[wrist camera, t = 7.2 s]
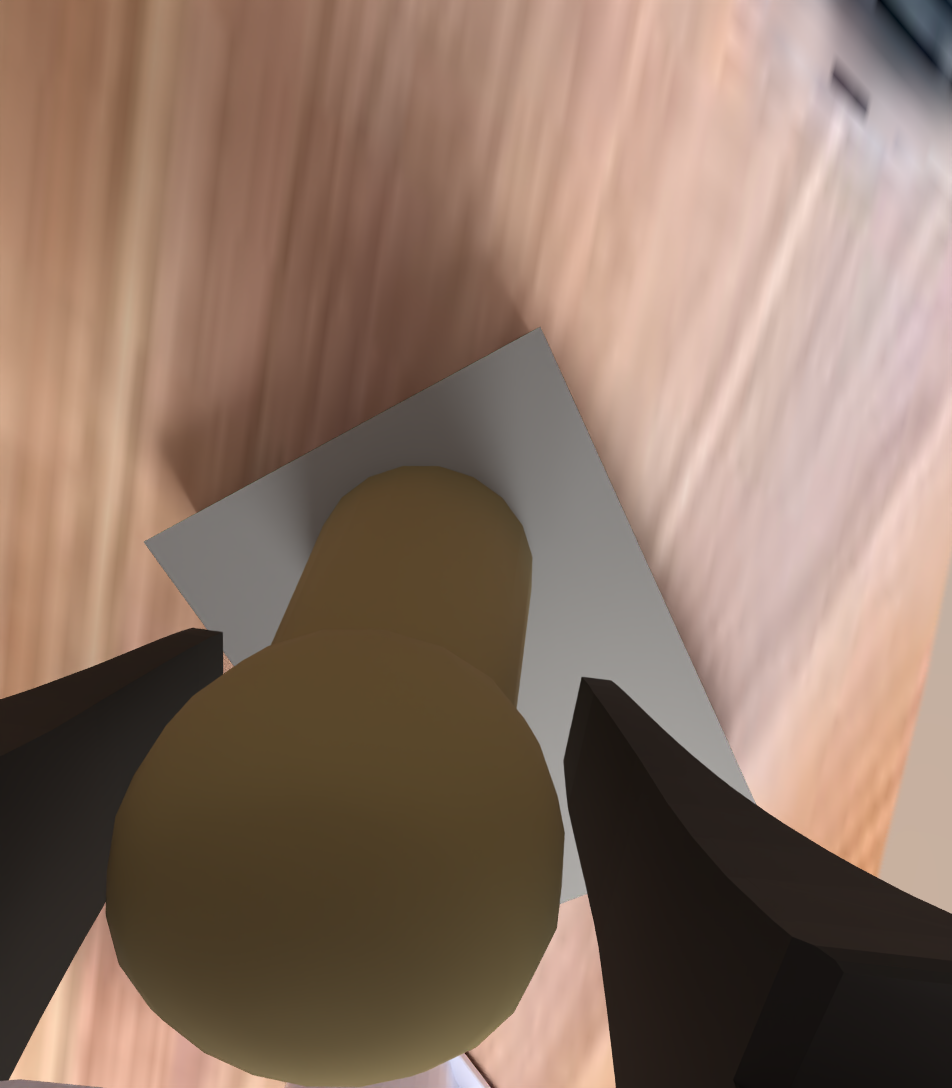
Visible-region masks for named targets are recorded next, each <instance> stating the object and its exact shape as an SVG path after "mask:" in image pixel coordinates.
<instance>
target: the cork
mask: <svg viewBox="0 0 952 1088" xmlns="http://www.w3.org/2000/svg"><path fill="white" fill-rule="evenodd" d="M532 558H533V557H532V554H531V551H530V547H529V544H528V541H527V538H526V535H525V532H524V528H523V525H522V524H521V523H520V521H519V520H518V519H517V517H516V516H515V514H514V513H513V512H512V510H511V509H510V508H509V506H508V505H507V504H506V502H505V501H504V499H503V498H502V497H501V496H499V495H498V494H496V493H495V492H494V491H492V490H491V489H489V488H488V487H487V486H485V485H484V484H482V483H481V482H480V481H478V480H477V479H475V478H474V477H472V476H468V475H465V474H462V473H459V472H456V471H453V470H450V469H447V468H444V467H440V466H401V467H398V468H395V469H392V470H389V471H386V472H383V473H380V474H377V475H374V476H371V477H368V478H367V479H366V480H364V481H363V482H362V483H360V484H359V485H358V486H356V487H355V488H354V489H352V490H351V491H350V492H348V493H347V494H346V495H344V496H343V497H342V498H341V499H340V501H339V502H338V504H337V505H336V507H335V508H334V510H333V511H332V513H331V514H330V516H329V517H328V519H327V520H326V522H325V523H324V525H323V527H322V529H321V531H320V534H319V536H318V538H317V541H316V543H315V545H314V547H313V550H312V552H311V554H310V557H309V559H308V561H307V563H306V566H305V568H304V570H303V573H302V575H301V577H300V579H299V582H298V584H297V586H296V589H295V591H294V593H293V595H292V598H291V600H290V602H289V605H288V607H287V609H286V611H285V614H284V616H283V618H282V621H281V623H280V625H279V627H278V630H277V632H276V634H275V637H274V639H273V641H272V643H271V645H270V646H267V647H266V648H264V649H262V650H260V651H258V652H257V653H255V654H253V655H251V656H250V657H248V658H246V659H244V660H242V661H241V662H240V663H238V664H237V665H235V666H234V667H233V668H231V669H230V670H228V671H227V672H226V673H224V674H223V675H221V676H220V677H219V678H217V679H216V680H214V681H213V682H212V683H210V684H209V685H207V686H206V687H205V688H203V689H202V690H200V691H199V692H197V693H196V694H195V695H193V696H192V697H191V698H190V700H189V701H188V702H187V703H186V704H185V705H184V706H183V707H182V708H181V710H180V711H179V712H178V713H177V714H176V715H175V716H174V717H173V718H172V720H171V721H170V722H169V723H168V724H167V725H166V726H165V728H164V729H163V731H162V733H161V734H160V736H159V737H158V739H157V740H156V742H155V743H154V745H153V746H152V748H151V749H150V751H149V753H148V754H147V756H146V757H145V759H144V760H143V762H142V763H141V765H140V766H139V768H138V769H137V771H136V773H135V774H134V776H133V778H132V780H131V783H130V785H129V787H128V789H127V792H126V794H125V796H124V798H123V801H122V803H121V805H120V807H119V810H118V812H117V814H116V816H115V823H114V829H113V835H112V842H111V848H110V854H109V861H108V867H107V884H106V918H107V922H108V926H109V929H110V933H111V937H112V940H113V944H114V948H115V952H116V955H117V959H118V963H119V965H120V967H121V968H122V969H123V971H124V972H125V974H126V975H127V976H128V978H129V979H130V981H131V982H132V983H133V985H134V986H135V988H136V989H137V990H138V992H139V993H140V995H141V996H142V997H143V999H144V1000H145V1002H146V1003H147V1005H148V1006H149V1007H150V1009H151V1010H152V1011H154V1012H155V1013H156V1014H157V1015H158V1016H159V1017H160V1018H161V1019H162V1020H163V1021H164V1022H166V1023H167V1024H168V1025H170V1026H171V1027H172V1028H173V1029H175V1030H176V1031H177V1032H178V1033H180V1034H181V1035H182V1036H184V1037H185V1038H186V1039H187V1040H189V1041H190V1042H191V1043H192V1044H194V1045H195V1046H196V1047H198V1048H199V1049H200V1050H201V1051H203V1052H204V1053H206V1054H208V1055H210V1056H213V1057H215V1058H217V1059H219V1060H221V1061H223V1062H226V1063H228V1064H230V1065H232V1066H234V1067H237V1068H239V1069H241V1070H243V1071H245V1072H248V1073H250V1074H252V1075H256V1076H260V1077H265V1078H269V1079H274V1080H279V1081H283V1082H288V1083H292V1084H297V1085H301V1086H306V1087H363V1086H368V1085H373V1084H377V1083H382V1082H387V1081H392V1080H397V1079H402V1078H407V1077H411V1076H414V1075H417V1074H420V1073H423V1072H426V1071H428V1070H430V1069H432V1068H434V1067H436V1066H438V1065H441V1064H443V1063H445V1062H447V1061H449V1060H451V1059H453V1058H455V1057H457V1056H459V1055H461V1054H463V1053H465V1052H467V1051H470V1050H472V1049H474V1048H476V1047H477V1046H478V1045H479V1044H480V1043H481V1042H482V1041H484V1040H485V1039H486V1038H487V1037H488V1036H489V1035H490V1034H491V1033H492V1032H493V1031H494V1030H495V1029H496V1028H498V1027H499V1026H500V1025H501V1024H502V1023H503V1022H504V1021H505V1020H506V1019H507V1018H508V1017H509V1016H511V1015H512V1014H513V1013H514V1011H515V1009H516V1007H517V1006H518V1004H519V1002H520V1000H521V998H522V996H523V994H524V992H525V990H526V988H527V987H528V985H529V983H530V981H531V979H532V977H533V975H534V973H535V971H536V969H537V967H538V965H539V963H540V961H541V959H542V957H543V955H544V953H545V951H546V949H547V947H548V945H549V943H550V941H551V939H552V937H553V935H554V933H555V931H556V929H557V922H558V913H559V905H560V897H561V889H562V875H563V857H564V840H565V831H564V826H563V821H562V815H561V810H560V805H559V800H558V795H557V793H556V790H555V787H554V784H553V781H552V778H551V775H550V772H549V769H548V767H547V764H546V761H545V758H544V755H543V752H542V749H541V746H540V744H539V742H538V740H537V739H536V737H535V735H534V734H533V732H532V730H531V728H530V727H529V725H528V723H527V722H526V720H525V719H524V717H523V716H522V715H521V714H520V712H519V711H518V710H517V702H518V694H519V686H520V678H521V670H522V662H523V654H524V646H525V638H526V630H527V622H528V614H529V606H530V598H531V590H532Z"/></svg>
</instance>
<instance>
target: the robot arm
mask: <svg viewBox="0 0 952 1088" xmlns="http://www.w3.org/2000/svg"><path fill="white" fill-rule="evenodd" d="M221 675H223V632H220V631H212V630H204V629H196V628H191V629H187V630H184V631H181V632H178V633H175V634H172V635H169V636H167V637H164V638H162V639H159V640H157V641H154V642H152V643H149V644H147V645H144V646H142V647H140V648H137V649H135V650H132V651H130V652H127V653H125V654H122V655H120V656H117V657H115V658H113V659H110V660H108V661H105V662H103V663H100V664H98V665H95V666H93V667H90V668H88V669H85V670H82V671H79V672H77V673H74V674H71V675H69V676H66V677H63V678H61V679H58V680H55V681H52V682H50V683H47V684H44V685H42V686H39V687H36V688H34V689H31V690H28V691H25V692H22V693H19V694H16V695H13V696H10V697H6V698H3V699H0V1088H101V1087H91V1086H81V1085H71V1084H61V1083H51V1082H41V1081H31V1080H21V1079H20V1080H9V1078H10V1076H11V1074H12V1072H13V1071H14V1069H15V1067H16V1065H17V1063H18V1061H19V1059H20V1057H21V1055H22V1053H23V1051H24V1049H25V1047H26V1045H27V1043H28V1042H29V1040H30V1038H31V1036H32V1034H33V1032H34V1030H35V1028H36V1026H37V1024H38V1022H39V1020H40V1018H41V1017H42V1015H43V1013H44V1011H45V1009H46V1007H47V1006H48V1004H49V1002H50V1000H51V998H52V996H53V995H54V993H55V991H56V989H57V987H58V986H59V984H60V982H61V980H62V978H63V976H64V975H65V973H66V971H67V969H68V967H69V965H70V964H71V962H72V960H73V958H74V956H75V954H76V953H77V951H78V949H79V947H80V946H81V944H82V942H83V940H84V939H85V937H86V935H87V934H88V932H89V930H90V928H91V927H92V925H93V923H94V921H95V920H96V918H97V916H98V914H99V913H100V911H101V909H102V908H103V906H104V904H105V902H106V884H107V867H108V861H109V854H110V848H111V842H112V835H113V829H114V823H115V816H116V814H117V812H118V810H119V807H120V805H121V803H122V801H123V798H124V796H125V794H126V792H127V789H128V787H129V785H130V783H131V780H132V778H133V776H134V774H135V773H136V771H137V769H138V768H139V766H140V765H141V763H142V762H143V760H144V759H145V757H146V756H147V754H148V753H149V751H150V749H151V748H152V746H153V745H154V743H155V742H156V740H157V739H158V737H159V736H160V734H161V733H162V731H163V729H164V728H165V726H166V725H167V724H168V723H169V722H170V721H171V720H172V718H173V717H174V716H175V715H176V714H177V713H178V712H179V711H180V710H181V708H182V707H183V706H184V705H185V704H186V703H187V702H188V701H189V700H190V698H191V697H192V696H193V695H195V694H196V693H197V692H199V691H200V690H202V689H203V688H205V687H206V686H207V685H209V684H210V683H212V682H213V681H214V680H216V679H217V678H219V677H220V676H221ZM563 764H564V775H565V787H566V796H567V805H568V811H569V816H570V820H571V825H572V829H573V834H574V838H575V843H576V847H577V851H578V856H579V860H580V864H581V868H582V873H583V877H584V881H585V886H586V890H587V894H588V898H589V903H590V907H591V911H592V916H593V920H594V925H595V931H596V936H597V941H598V946H599V953H600V961H601V968H602V976H603V983H604V991H605V998H606V1006H607V1014H608V1023H609V1031H610V1040H611V1048H612V1057H613V1065H614V1074H615V1083H616V1088H952V914H951V913H949V912H947V911H944V910H942V909H940V908H938V907H936V906H934V905H931V904H929V903H927V902H925V901H923V900H920V899H918V898H916V897H914V896H912V895H910V894H908V893H906V892H904V891H902V890H900V889H898V888H896V887H894V886H892V885H890V884H888V883H886V882H885V881H883V880H881V879H879V878H877V877H875V876H873V875H871V874H869V873H867V872H866V871H864V870H862V869H860V868H858V867H856V866H854V865H853V864H851V863H849V862H847V861H845V860H844V859H842V858H840V857H838V856H837V855H835V854H833V853H831V852H829V851H828V850H826V849H824V848H823V847H821V846H819V845H818V844H816V843H815V842H813V841H811V840H810V839H808V838H806V837H805V836H803V835H802V834H800V833H798V832H797V831H795V830H793V829H792V828H790V827H789V826H787V825H785V824H784V823H782V822H781V821H779V820H778V819H776V818H775V817H773V816H772V815H770V814H769V813H767V812H766V811H764V810H763V809H762V808H760V807H759V806H757V805H756V804H755V803H753V802H752V801H750V800H749V799H748V798H746V797H745V796H743V795H742V794H741V793H739V792H738V791H736V790H735V789H734V788H732V787H731V786H730V785H728V784H727V783H726V782H725V781H723V780H722V779H721V778H719V777H718V776H717V775H716V774H714V773H713V772H712V771H711V770H710V769H708V768H707V767H706V766H705V765H704V764H702V763H701V762H700V761H699V760H698V759H696V758H695V757H694V756H693V755H692V754H691V753H689V752H688V751H687V750H686V749H685V748H684V747H683V746H681V745H680V744H679V743H678V742H677V741H676V740H675V739H674V738H673V737H671V736H670V735H669V734H668V733H667V732H666V731H665V730H664V729H663V728H662V727H661V726H660V725H659V724H658V723H657V722H655V721H654V720H653V719H652V718H651V717H650V716H649V715H648V714H647V713H646V712H645V711H644V710H643V709H642V708H641V707H640V706H639V705H638V704H637V703H636V702H635V701H634V700H633V699H632V698H631V697H630V696H629V695H627V694H626V693H625V692H624V691H623V690H622V689H621V688H620V687H619V686H618V685H617V684H615V683H614V682H613V681H612V680H605V679H597V678H589V677H581V682H580V686H579V691H578V696H577V700H576V705H575V709H574V714H573V718H572V723H571V728H570V732H569V737H568V741H567V746H566V750H565V755H564V760H563ZM285 1088H491V1087H490V1086H489V1085H488V1083H487V1082H486V1081H485V1079H484V1078H483V1077H482V1075H481V1074H480V1073H479V1072H478V1070H477V1069H476V1068H475V1066H474V1065H473V1064H472V1062H471V1061H470V1060H469V1058H468V1057H467V1056H466V1055H465V1053H463V1054H461V1055H459V1056H457V1057H455V1058H453V1059H451V1060H449V1061H447V1062H445V1063H443V1064H441V1065H438V1066H436V1067H434V1068H432V1069H430V1070H428V1071H426V1072H423V1073H420V1074H417V1075H414V1076H411V1077H407V1078H402V1079H397V1080H392V1081H387V1082H382V1083H377V1084H373V1085H368V1086H363V1087H306V1086H301V1085H297V1084H292V1083H288V1082H286V1085H285Z"/></svg>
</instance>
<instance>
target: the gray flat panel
mask: <svg viewBox="0 0 952 1088" xmlns="http://www.w3.org/2000/svg"><path fill="white" fill-rule="evenodd" d="M401 466H440V467H444V468H447V469H450V470H453V471H456V472H459V473H462V474H465V475H468V476H472V477H474V478H475V479H477V480H478V481H480V482H481V483H482V484H484V485H485V486H487V487H488V488H489V489H491V490H492V491H494V492H495V493H496V494H498V495H499V496H501V497H502V498H503V499H504V501H505V502H506V504H507V505H508V506H509V508H510V509H511V510H512V512H513V513H514V514H515V516H516V517H517V519H518V520H519V521H520V523H521V524H522V525H523V528H524V532H525V535H526V538H527V541H528V544H529V547H530V551H531V554H532V557H533V558H532V590H531V598H530V606H529V614H528V622H527V630H526V638H525V646H524V654H523V662H522V670H521V678H520V686H519V694H518V702H517V710H518V711H519V712H520V714H521V715H522V716H523V717H524V719H525V720H526V722H527V723H528V725H529V727H530V728H531V730H532V732H533V734H534V735H535V737H536V739H537V740H538V742H539V744H540V746H541V749H542V752H543V755H544V758H545V761H546V764H547V767H548V769H549V772H550V775H551V778H552V781H553V784H554V787H555V790H556V793H557V795H558V800H559V805H560V810H561V815H562V821H563V826H564V831H565V840H564V857H563V875H562V889H561V897H560V904H561V903H564V902H567V901H569V900H572V899H575V898H577V897H580V896H583V895H585V894H587V890H586V886H585V881H584V877H583V873H582V868H581V864H580V860H579V856H578V851H577V847H576V843H575V838H574V834H573V829H572V825H571V820H570V816H569V811H568V805H567V796H566V787H565V775H564V764H563V760H564V755H565V750H566V746H567V741H568V737H569V732H570V728H571V723H572V718H573V714H574V709H575V705H576V700H577V696H578V691H579V686H580V682H581V677H589V678H597V679H605V680H612V681H613V682H614V683H615V684H617V685H618V686H619V687H620V688H621V689H622V690H623V691H624V692H625V693H626V694H627V695H629V696H630V697H631V698H632V699H633V700H634V701H635V702H636V703H637V704H638V705H639V706H640V707H641V708H642V709H643V710H644V711H645V712H646V713H647V714H648V715H649V716H650V717H651V718H652V719H653V720H654V721H655V722H657V723H658V724H659V725H660V726H661V727H662V728H663V729H664V730H665V731H666V732H667V733H668V734H669V735H670V736H671V737H673V738H674V739H675V740H676V741H677V742H678V743H679V744H680V745H681V746H683V747H684V748H685V749H686V750H687V751H688V752H689V753H691V754H692V755H693V756H694V757H695V758H696V759H698V760H699V761H700V762H701V763H702V764H704V765H705V766H706V767H707V768H708V769H710V770H711V771H712V772H713V773H714V774H716V775H717V776H718V777H719V778H721V779H722V780H723V781H725V782H726V783H727V784H728V785H730V786H731V787H732V788H734V789H735V790H736V791H738V792H739V793H741V794H742V795H743V796H745V797H746V798H748V799H749V800H750V801H752V802H753V803H755V801H754V799H753V796H752V794H751V792H750V790H749V788H748V785H747V783H746V781H745V779H744V776H743V774H742V772H741V770H740V768H739V765H738V763H737V761H736V759H735V757H734V754H733V752H732V750H731V748H730V745H729V743H728V741H727V739H726V737H725V734H724V732H723V730H722V728H721V726H720V723H719V721H718V719H717V717H716V714H715V712H714V710H713V708H712V706H711V703H710V701H709V699H708V697H707V695H706V692H705V690H704V688H703V686H702V684H701V681H700V679H699V677H698V675H697V672H696V670H695V668H694V666H693V664H692V661H691V659H690V657H689V655H688V653H687V650H686V648H685V646H684V644H683V641H682V639H681V637H680V635H679V633H678V630H677V628H676V626H675V624H674V622H673V619H672V617H671V615H670V613H669V610H668V608H667V606H666V604H665V602H664V599H663V597H662V595H661V593H660V591H659V588H658V586H657V584H656V582H655V579H654V577H653V575H652V573H651V571H650V568H649V566H648V564H647V562H646V560H645V557H644V555H643V553H642V551H641V548H640V546H639V544H638V542H637V540H636V537H635V535H634V533H633V531H632V529H631V526H630V524H629V522H628V520H627V517H626V515H625V513H624V511H623V509H622V506H621V504H620V502H619V500H618V498H617V495H616V493H615V491H614V489H613V486H612V484H611V482H610V480H609V478H608V475H607V473H606V471H605V469H604V467H603V464H602V462H601V460H600V458H599V456H598V453H597V451H596V449H595V447H594V444H593V442H592V440H591V438H590V436H589V433H588V431H587V429H586V427H585V425H584V422H583V420H582V418H581V416H580V413H579V411H578V409H577V407H576V405H575V402H574V400H573V398H572V396H571V394H570V391H569V389H568V387H567V385H566V382H565V380H564V378H563V376H562V374H561V371H560V369H559V367H558V365H557V363H556V360H555V358H554V356H553V354H552V351H551V349H550V347H549V345H548V343H547V340H546V338H545V336H544V334H543V332H542V329H541V327H539V328H537V329H535V330H533V331H531V332H529V333H528V334H526V335H524V336H522V337H520V338H518V339H517V340H515V341H513V342H511V343H509V344H507V345H505V346H504V347H502V348H500V349H498V350H496V351H494V352H493V353H491V354H489V355H487V356H485V357H483V358H481V359H480V360H478V361H476V362H474V363H472V364H470V365H469V366H467V367H465V368H463V369H461V370H459V371H458V372H456V373H454V374H452V375H450V376H448V377H446V378H445V379H443V380H441V381H439V382H437V383H435V384H434V385H432V386H430V387H428V388H426V389H424V390H423V391H421V392H419V393H417V394H415V395H413V396H411V397H410V398H408V399H406V400H404V401H402V402H400V403H399V404H397V405H395V406H393V407H391V408H389V409H387V410H386V411H384V412H382V413H380V414H378V415H376V416H375V417H373V418H371V419H369V420H367V421H365V422H364V423H362V424H360V425H358V426H356V427H354V428H352V429H351V430H349V431H347V432H345V433H343V434H341V435H340V436H338V437H336V438H334V439H332V440H330V441H329V442H327V443H325V444H323V445H321V446H319V447H317V448H316V449H314V450H312V451H310V452H308V453H306V454H305V455H303V456H301V457H299V458H297V459H295V460H293V461H292V462H290V463H288V464H286V465H284V466H282V467H281V468H279V469H277V470H275V471H273V472H271V473H270V474H268V475H266V476H264V477H262V478H260V479H258V480H257V481H255V482H253V483H251V484H249V485H247V486H246V487H244V488H242V489H240V490H238V491H236V492H235V493H233V494H231V495H229V496H227V497H225V498H223V499H222V500H220V501H218V502H216V503H214V504H212V505H211V506H209V507H207V508H205V509H203V510H201V511H200V512H198V513H196V514H194V515H192V516H190V517H188V518H187V519H185V520H183V521H181V522H179V523H177V524H176V525H174V526H172V527H170V528H168V529H166V530H164V531H163V532H161V533H159V534H157V535H155V536H153V537H152V538H150V539H148V540H146V541H144V543H145V544H146V546H147V547H148V549H149V550H150V551H151V553H152V554H153V555H154V557H155V558H156V560H157V561H158V562H159V564H160V565H161V566H162V568H163V569H164V571H165V572H166V573H167V575H168V576H169V578H170V579H171V580H172V582H173V583H174V584H175V586H176V587H177V589H178V590H179V591H180V593H181V594H182V595H183V597H184V598H185V600H186V601H187V602H188V604H189V605H190V606H191V608H192V609H193V611H194V612H195V613H196V615H197V616H198V617H199V619H200V620H201V622H202V623H203V624H204V626H205V627H206V628H207V630H212V631H220V632H223V652H224V653H225V655H226V656H227V657H228V659H229V660H230V661H231V663H232V664H233V666H235V665H237V664H238V663H240V662H241V661H242V660H244V659H246V658H248V657H250V656H251V655H253V654H255V653H257V652H258V651H260V650H262V649H264V648H266V647H267V646H270V645H271V643H272V641H273V639H274V637H275V634H276V632H277V630H278V627H279V625H280V623H281V621H282V618H283V616H284V614H285V611H286V609H287V607H288V605H289V602H290V600H291V598H292V595H293V593H294V591H295V589H296V586H297V584H298V582H299V579H300V577H301V575H302V573H303V570H304V568H305V566H306V563H307V561H308V559H309V557H310V554H311V552H312V550H313V547H314V545H315V543H316V541H317V538H318V536H319V534H320V531H321V529H322V527H323V525H324V523H325V522H326V520H327V519H328V517H329V516H330V514H331V513H332V511H333V510H334V508H335V507H336V505H337V504H338V502H339V501H340V499H341V498H342V497H343V496H344V495H346V494H347V493H348V492H350V491H351V490H352V489H354V488H355V487H356V486H358V485H359V484H360V483H362V482H363V481H364V480H366V479H367V478H368V477H371V476H374V475H377V474H380V473H383V472H386V471H389V470H392V469H395V468H398V467H401ZM755 804H756V803H755Z"/></svg>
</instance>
